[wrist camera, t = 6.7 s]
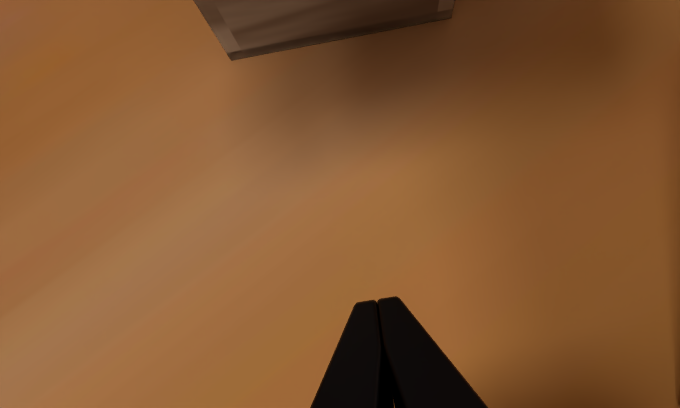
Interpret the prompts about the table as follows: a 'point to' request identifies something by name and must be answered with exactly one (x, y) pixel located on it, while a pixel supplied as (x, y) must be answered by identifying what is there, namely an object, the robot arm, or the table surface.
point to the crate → (309, 21)
